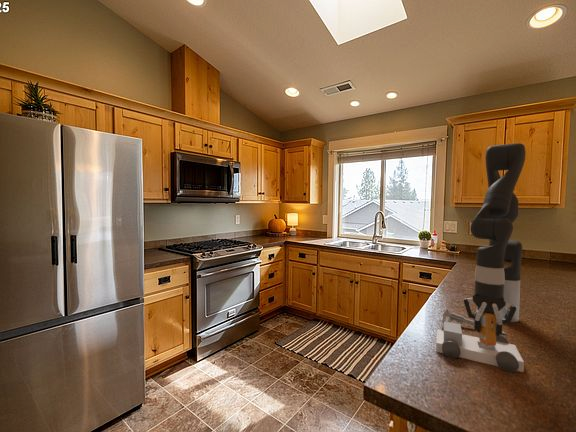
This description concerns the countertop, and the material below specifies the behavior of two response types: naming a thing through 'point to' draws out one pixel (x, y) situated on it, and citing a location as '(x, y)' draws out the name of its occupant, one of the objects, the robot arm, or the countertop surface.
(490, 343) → the supplement box
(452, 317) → the caliper
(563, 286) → the countertop surface
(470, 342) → the chassis
